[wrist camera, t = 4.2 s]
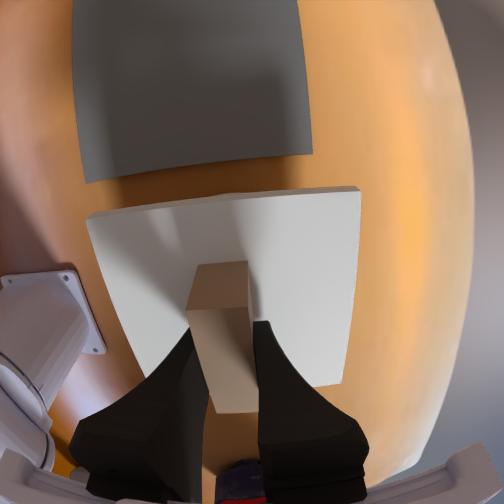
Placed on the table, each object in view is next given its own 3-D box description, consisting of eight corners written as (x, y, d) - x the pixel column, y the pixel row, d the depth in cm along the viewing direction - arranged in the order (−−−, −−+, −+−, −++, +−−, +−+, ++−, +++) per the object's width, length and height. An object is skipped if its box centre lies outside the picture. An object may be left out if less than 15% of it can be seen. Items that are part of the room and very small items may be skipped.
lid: (156, 383, 17) (143, 434, 13) (93, 212, 12) (47, 252, 8) (338, 373, 16) (352, 425, 13) (354, 185, 11) (395, 219, 8)
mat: (90, 181, 17) (86, 183, 17) (78, -5, 12) (73, -7, 11) (310, 153, 17) (312, 154, 16) (286, -47, 11) (287, -51, 11)
